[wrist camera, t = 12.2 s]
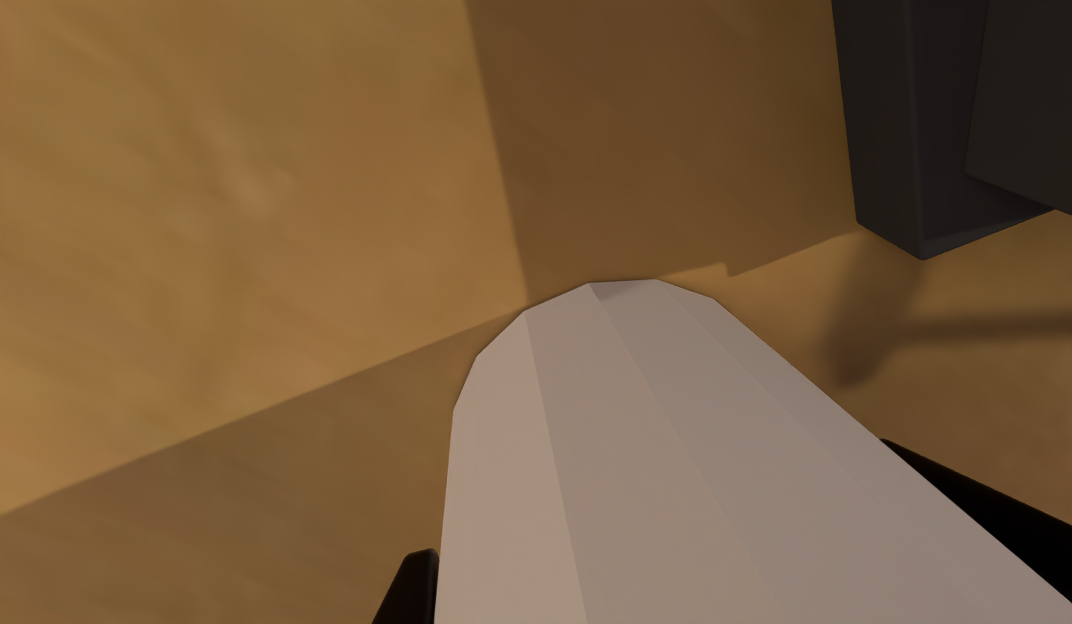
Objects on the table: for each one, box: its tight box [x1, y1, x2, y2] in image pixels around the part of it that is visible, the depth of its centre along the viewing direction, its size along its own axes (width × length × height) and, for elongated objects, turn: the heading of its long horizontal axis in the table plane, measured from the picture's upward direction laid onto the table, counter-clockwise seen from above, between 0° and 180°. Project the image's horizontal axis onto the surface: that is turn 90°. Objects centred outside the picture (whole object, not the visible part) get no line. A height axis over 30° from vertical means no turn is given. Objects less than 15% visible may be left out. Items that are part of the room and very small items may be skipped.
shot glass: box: [434, 279, 1072, 624], centre depth 8 cm, size 7×7×7 cm
